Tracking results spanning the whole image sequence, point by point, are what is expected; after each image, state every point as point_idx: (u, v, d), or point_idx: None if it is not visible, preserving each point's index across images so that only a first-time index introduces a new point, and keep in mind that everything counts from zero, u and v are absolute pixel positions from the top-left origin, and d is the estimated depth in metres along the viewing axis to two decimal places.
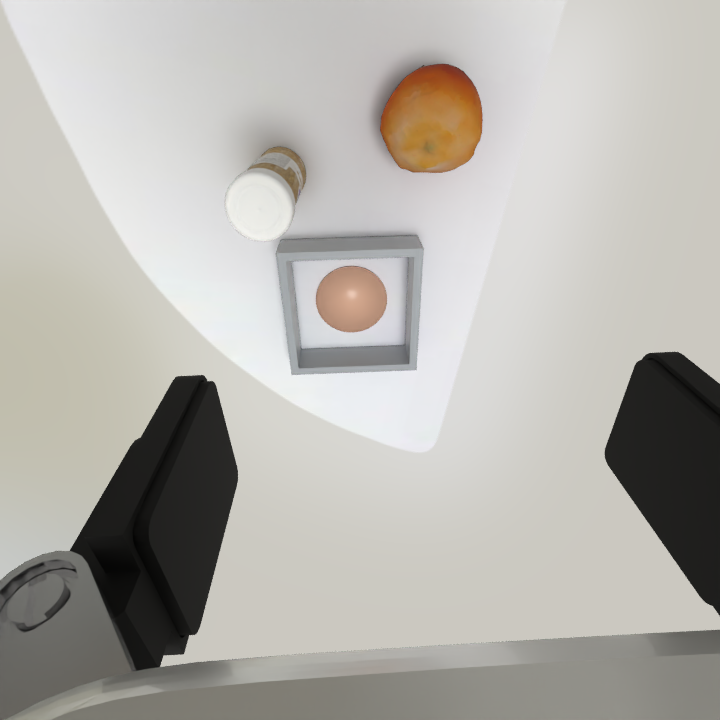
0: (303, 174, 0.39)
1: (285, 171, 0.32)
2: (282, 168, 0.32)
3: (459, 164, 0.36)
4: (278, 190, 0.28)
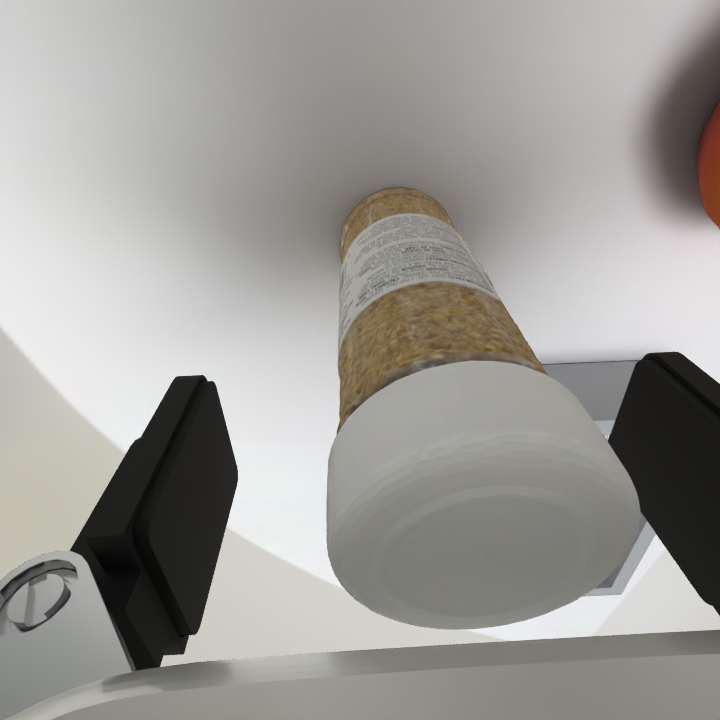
0: None
1: (504, 310, 0.09)
2: (494, 300, 0.09)
3: None
4: (608, 503, 0.06)
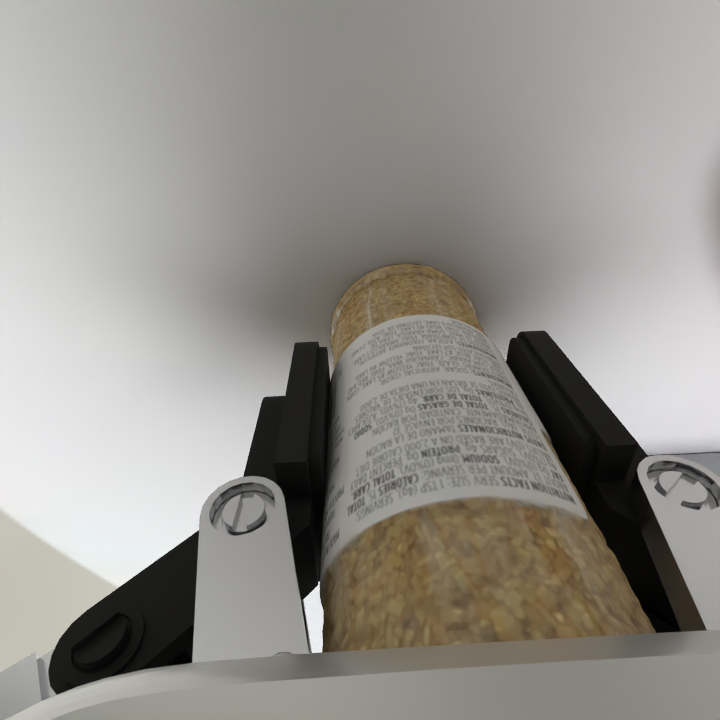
0: None
1: (597, 540, 0.06)
2: (580, 524, 0.05)
3: None
4: None
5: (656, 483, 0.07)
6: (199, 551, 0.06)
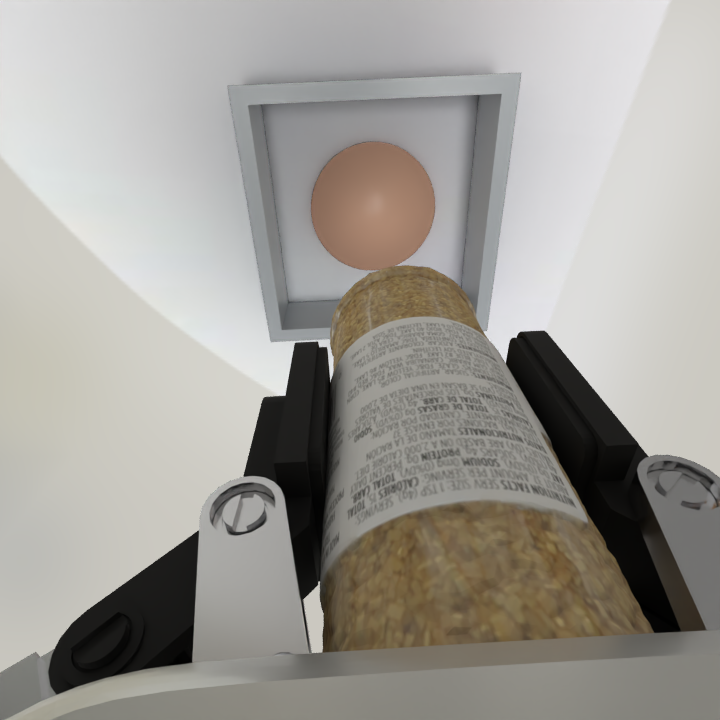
0: None
1: (597, 543, 0.05)
2: (581, 527, 0.05)
3: None
4: None
5: (656, 483, 0.07)
6: (199, 551, 0.06)
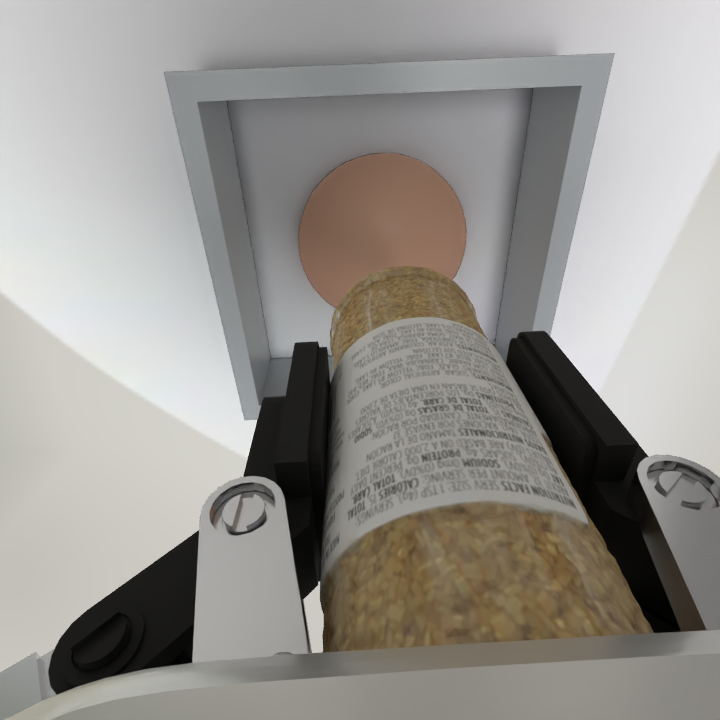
0: None
1: (597, 544, 0.05)
2: (581, 528, 0.05)
3: None
4: None
5: (656, 483, 0.07)
6: (199, 551, 0.06)
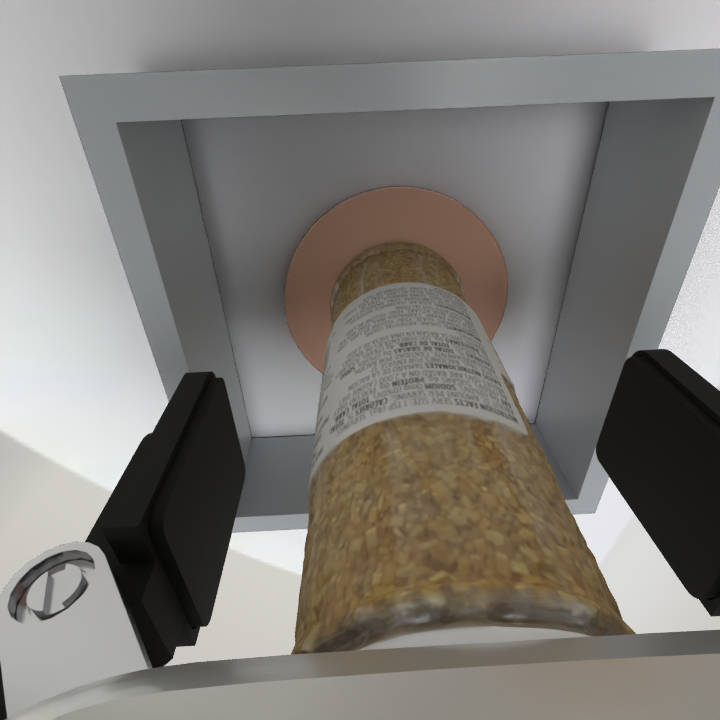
0: None
1: (533, 450, 0.07)
2: (519, 436, 0.07)
3: None
4: None
5: None
6: None
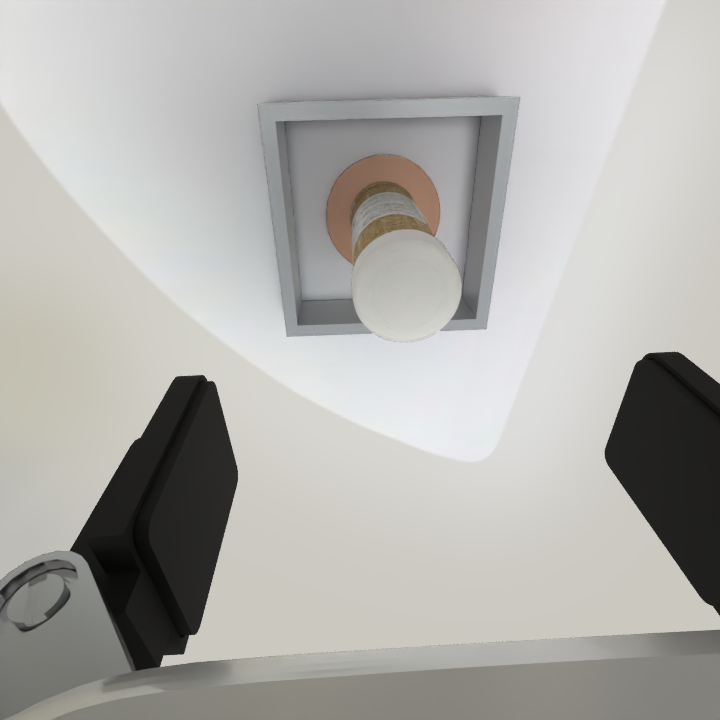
0: None
1: (427, 227, 0.21)
2: (422, 222, 0.21)
3: None
4: (445, 268, 0.17)
5: None
6: None
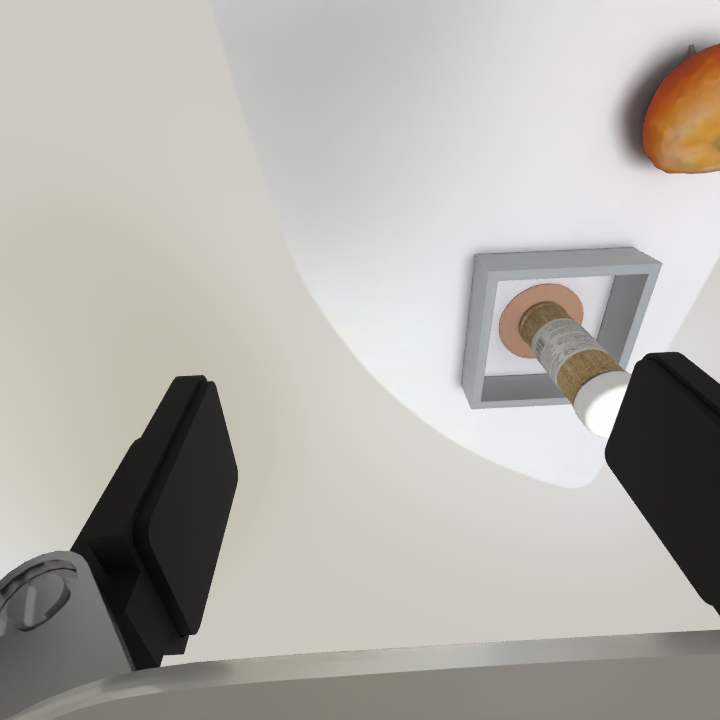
0: None
1: None
2: (608, 354, 0.32)
3: None
4: None
5: None
6: None
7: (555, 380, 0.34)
